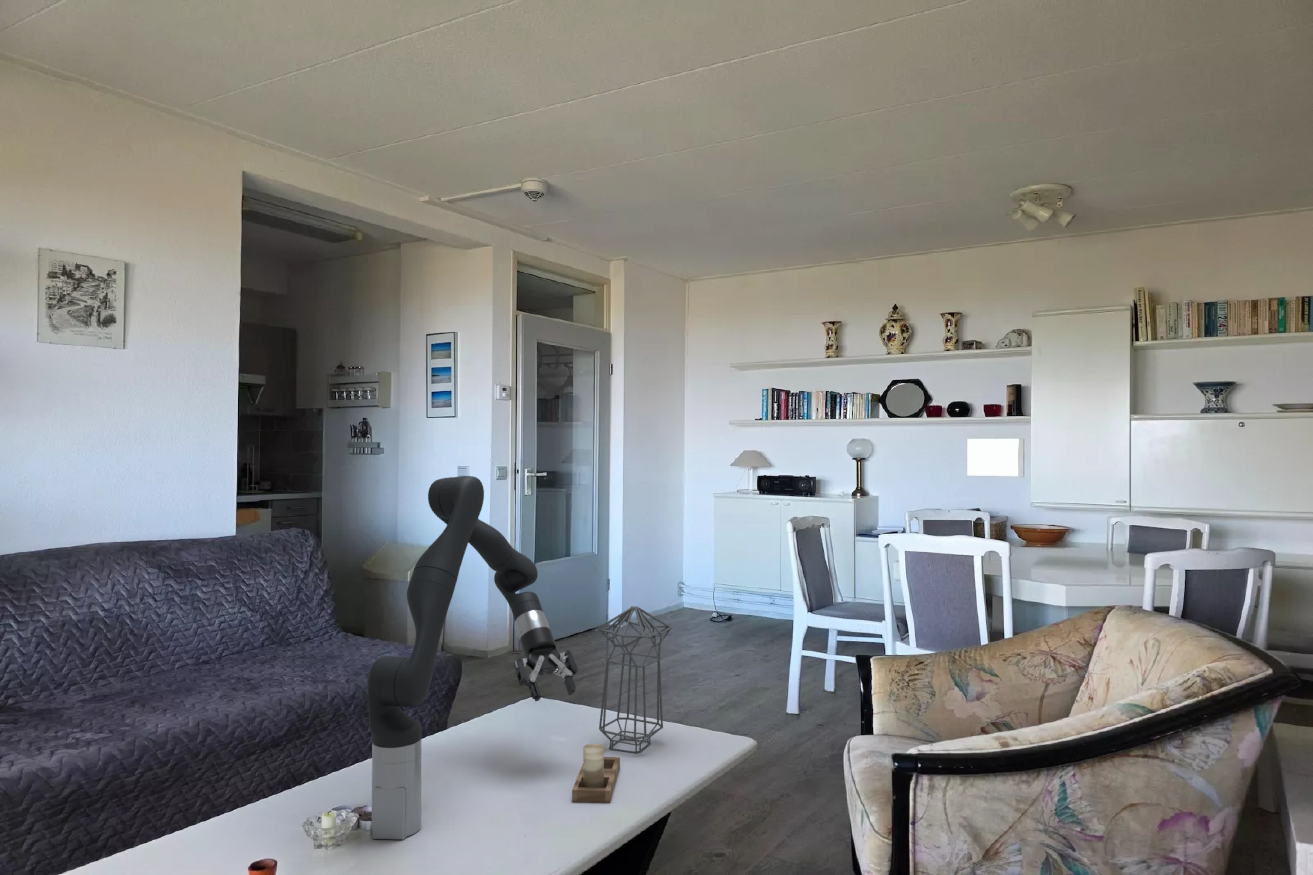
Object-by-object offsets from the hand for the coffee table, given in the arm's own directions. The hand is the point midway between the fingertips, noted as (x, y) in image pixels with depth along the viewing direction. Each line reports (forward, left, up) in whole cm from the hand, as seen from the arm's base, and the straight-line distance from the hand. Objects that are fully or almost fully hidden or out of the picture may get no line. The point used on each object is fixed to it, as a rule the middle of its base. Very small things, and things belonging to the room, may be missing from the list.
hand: (555, 696), depth 194 cm
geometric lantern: (+21, -16, -18) cm, 32 cm away
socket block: (-4, -10, -18) cm, 21 cm away
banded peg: (-9, -10, -18) cm, 23 cm away
